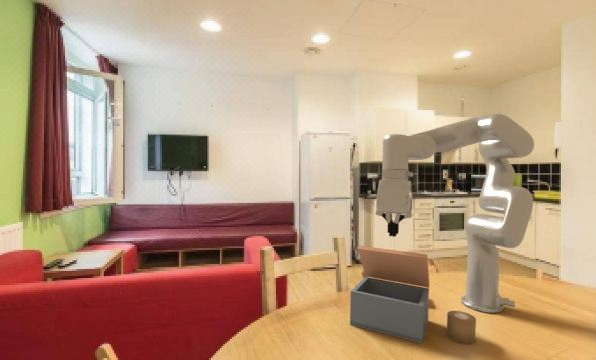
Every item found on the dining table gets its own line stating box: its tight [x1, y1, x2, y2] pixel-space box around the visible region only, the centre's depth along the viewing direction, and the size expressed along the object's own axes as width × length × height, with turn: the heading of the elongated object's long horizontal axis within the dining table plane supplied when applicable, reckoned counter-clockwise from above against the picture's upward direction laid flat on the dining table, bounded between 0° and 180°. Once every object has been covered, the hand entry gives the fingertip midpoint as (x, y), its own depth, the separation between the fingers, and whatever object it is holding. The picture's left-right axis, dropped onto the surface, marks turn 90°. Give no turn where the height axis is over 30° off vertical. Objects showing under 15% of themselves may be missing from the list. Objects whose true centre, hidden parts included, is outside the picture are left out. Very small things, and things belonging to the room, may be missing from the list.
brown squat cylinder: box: [446, 310, 477, 346], centre depth 86 cm, size 7×7×6 cm
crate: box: [349, 276, 430, 345], centre depth 93 cm, size 20×15×10 cm
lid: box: [357, 245, 430, 289], centre depth 96 cm, size 20×15×1 cm
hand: (392, 235), depth 94 cm, fingers closed
